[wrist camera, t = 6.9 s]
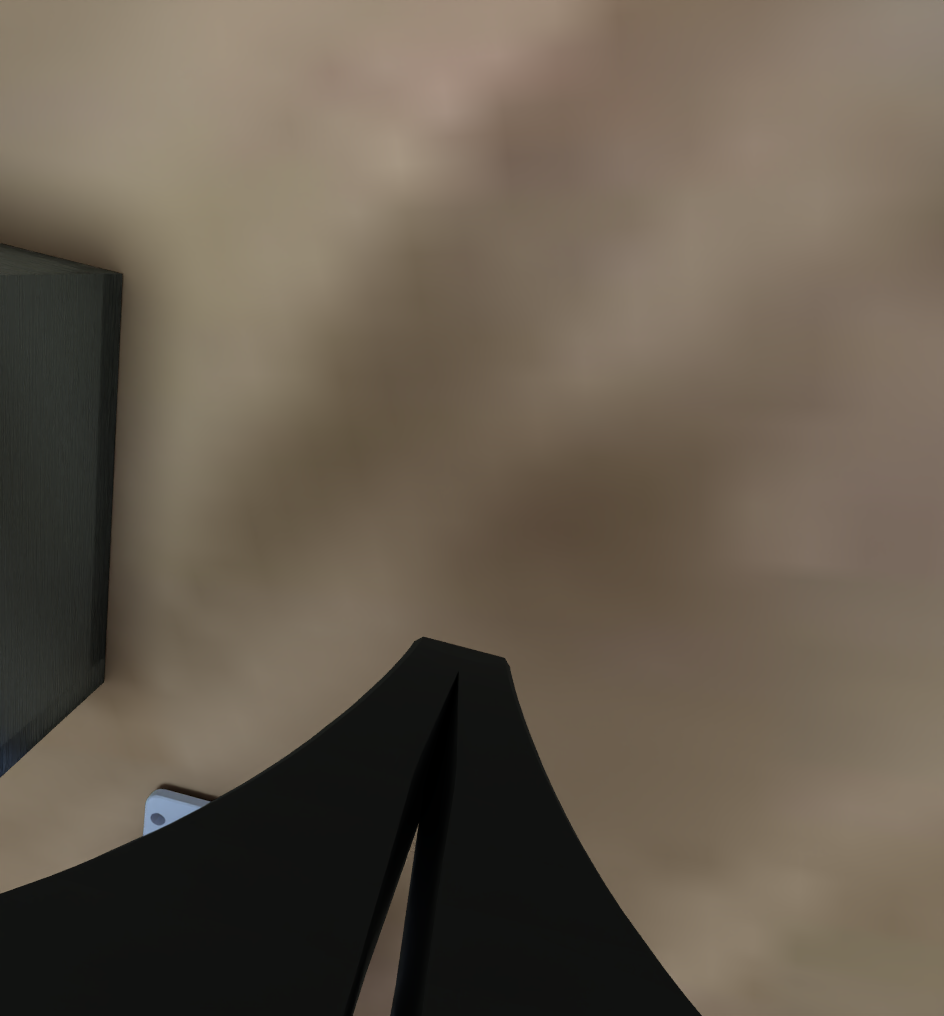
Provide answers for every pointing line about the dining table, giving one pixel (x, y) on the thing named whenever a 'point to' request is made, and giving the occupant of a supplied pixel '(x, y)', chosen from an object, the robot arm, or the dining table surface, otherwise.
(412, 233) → the dining table surface
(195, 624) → the dining table surface
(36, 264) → the grey square box
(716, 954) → the dining table surface
